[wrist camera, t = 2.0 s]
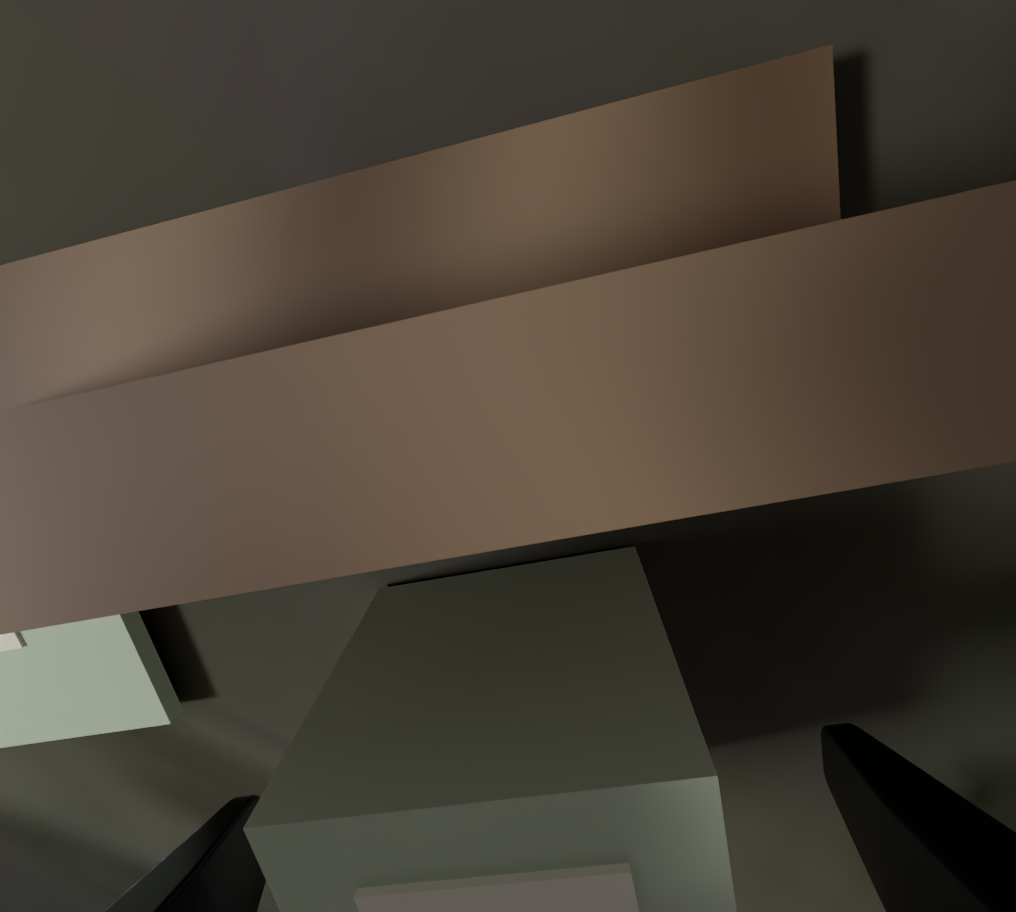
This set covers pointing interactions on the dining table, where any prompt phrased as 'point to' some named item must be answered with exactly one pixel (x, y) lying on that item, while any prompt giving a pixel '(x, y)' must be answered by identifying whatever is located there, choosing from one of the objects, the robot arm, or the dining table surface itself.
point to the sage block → (501, 756)
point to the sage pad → (82, 681)
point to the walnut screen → (494, 353)
